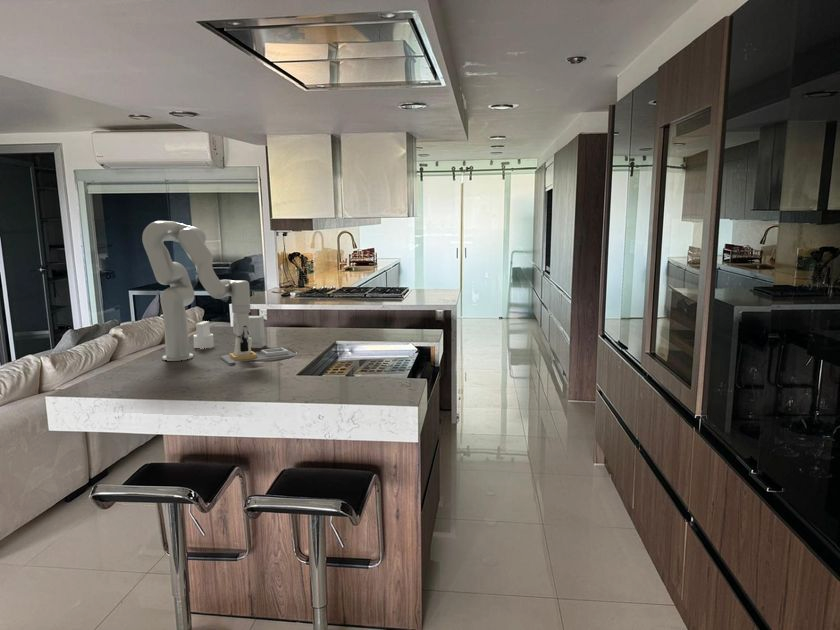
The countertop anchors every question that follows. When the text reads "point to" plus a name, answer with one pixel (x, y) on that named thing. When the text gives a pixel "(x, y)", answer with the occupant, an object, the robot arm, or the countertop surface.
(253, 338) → the skincare box
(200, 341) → the base with upright slab
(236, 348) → the plug
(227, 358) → the socket panel
